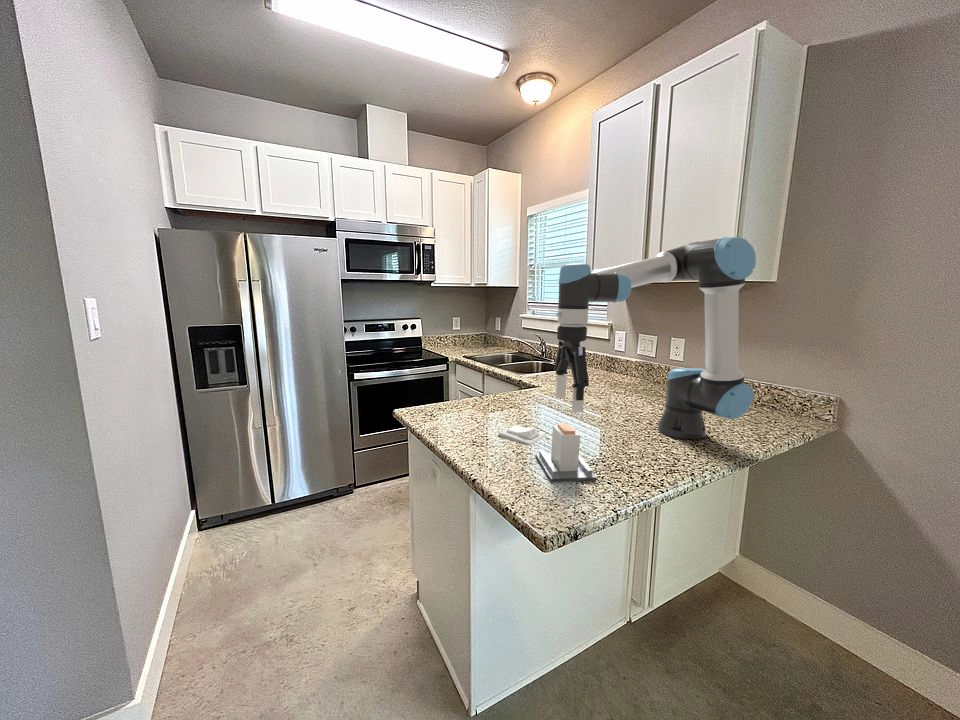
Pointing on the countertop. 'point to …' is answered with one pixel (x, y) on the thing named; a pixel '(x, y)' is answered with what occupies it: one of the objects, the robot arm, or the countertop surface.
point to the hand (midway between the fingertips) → (568, 404)
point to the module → (565, 447)
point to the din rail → (564, 476)
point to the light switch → (522, 434)
